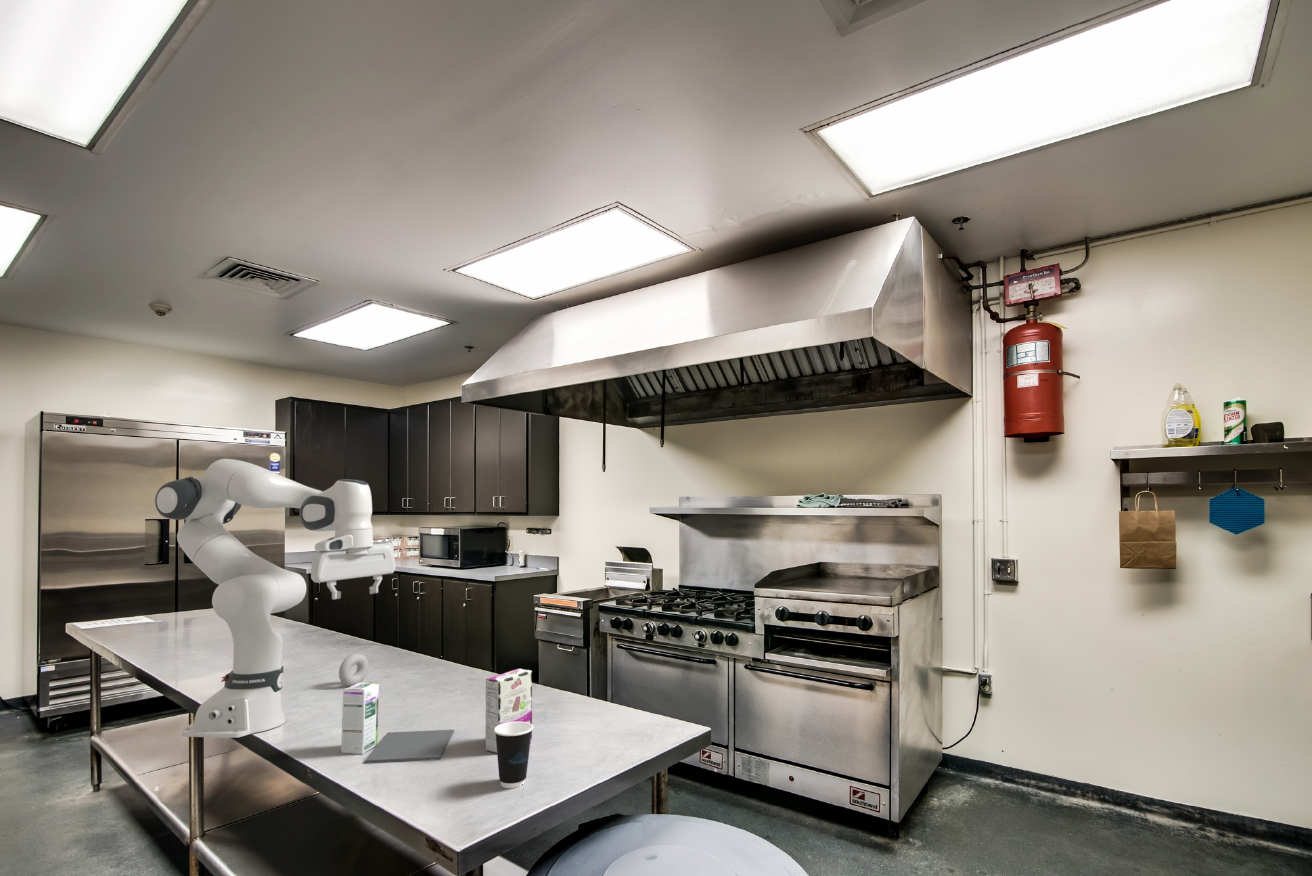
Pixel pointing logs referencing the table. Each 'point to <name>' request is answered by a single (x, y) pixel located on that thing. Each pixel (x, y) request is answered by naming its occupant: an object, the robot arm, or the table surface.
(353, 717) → the syrup box
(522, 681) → the candy bar box
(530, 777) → the table surface
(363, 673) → the donut
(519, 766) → the dixie cup
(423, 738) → the mat
